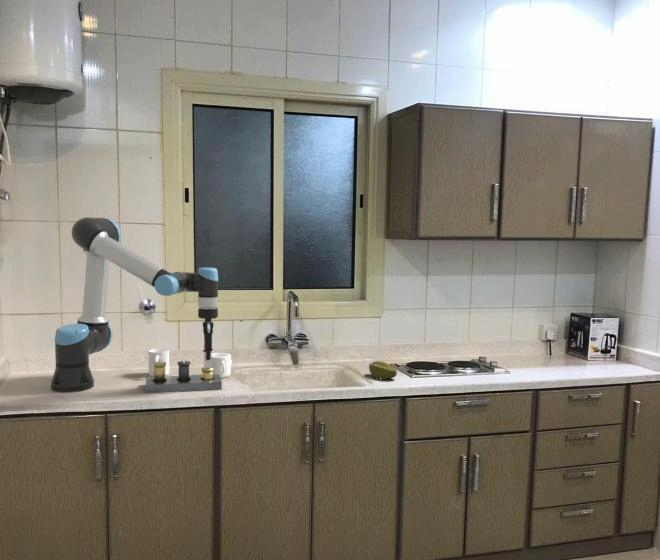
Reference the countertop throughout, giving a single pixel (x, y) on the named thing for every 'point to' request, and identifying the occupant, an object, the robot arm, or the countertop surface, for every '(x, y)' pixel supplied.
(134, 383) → the countertop surface
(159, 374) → the knob near
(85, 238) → the robot arm
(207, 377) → the knob far
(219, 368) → the mug
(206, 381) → the mount plate
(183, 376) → the knob mid
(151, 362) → the mug
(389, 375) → the fruit
